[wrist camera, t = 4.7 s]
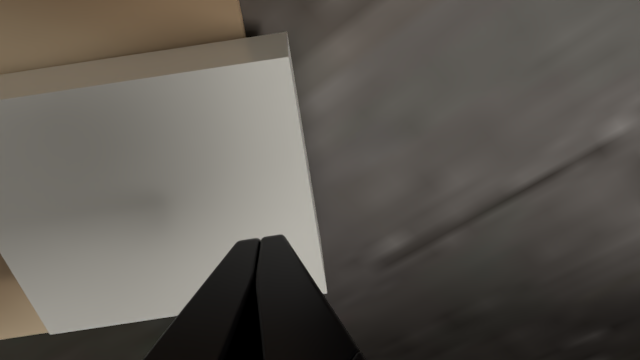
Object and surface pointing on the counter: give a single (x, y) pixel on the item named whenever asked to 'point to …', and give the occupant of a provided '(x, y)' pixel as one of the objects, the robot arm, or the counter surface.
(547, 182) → the counter surface
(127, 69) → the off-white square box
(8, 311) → the cork mat
